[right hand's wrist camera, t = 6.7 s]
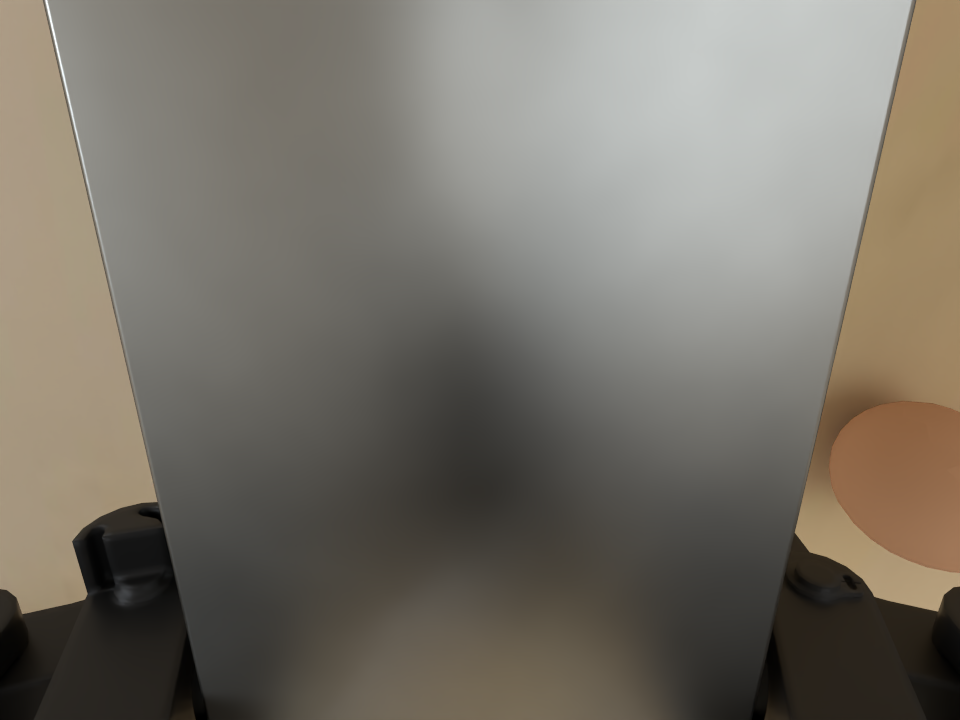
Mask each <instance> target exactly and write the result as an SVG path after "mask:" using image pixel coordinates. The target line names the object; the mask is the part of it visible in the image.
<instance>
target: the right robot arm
mask: <svg viewBox="0 0 960 720" xmlns="http://www.w3.org/2000/svg"><path fill="white" fill-rule="evenodd" d="M72 542H73V546H74V549H75V552H76V556H77V559H78V562H79V566H80V569H81V573H82V576H83V579H84V583H85V586H86V589H87V593H88V595H87V597H86V599H85V600H83V601H79V602H76V603H72V604H68V605H63V606H58V607H54V608H49V609H45V610H40V611H36V612H31V613H27V614H22V612H21V609H20V607H19V604H18V601H17V598H16V597H15V596H14V595H12V594H11V593H10V592H8V591H7V590H1V589H0V720H207V715H206V711H205V707H204V702H203V698H202V693H201V689H200V685H199V680H198V676H197V672H196V667H195V663H194V658H193V654H192V650H191V645H190V641H189V637H188V632H187V628H186V623H185V619H184V615H183V610H182V606H181V602H180V597H179V593H178V588H177V584H176V580H175V575H174V571H173V567H172V562H171V558H170V553H169V549H168V545H167V540H166V536H165V532H164V527H163V523H162V519H161V514H160V510H159V505H158V502H153V503H140V504H136V505H132V506H128V507H123V508H120V509H118V510H115V511H113V512H111V513H108V514H106V515H104V516H101V517H99V518H98V519H96V520H95V521H93V522H92V523H90V524H89V525H87V526H86V527H84V528H83V529H82V530H81V531H80V533H79V534H78V535H77V536H76V537H75V539H74V540H73V541H72ZM752 720H960V587H954V588H952V589H951V590H950V591H948V592H947V593H946V594H945V595H944V597H943V599H942V602H941V605H940V608H939V611H938V612H937V611H932V610H927V609H923V608H918V607H914V606H909V605H904V604H900V603H895V602H891V601H887V600H883V599H880V598H876V597H874V596H873V593H872V592H871V591H870V589H869V588H868V586H867V585H866V584H865V582H864V581H863V579H862V578H860V577H859V576H858V575H856V574H855V573H854V572H852V571H851V570H850V569H849V568H847V567H846V566H844V565H842V564H840V563H838V562H836V561H834V560H831V559H829V558H827V557H824V556H821V555H817V554H813V553H810V552H809V551H808V550H807V548H806V547H805V546H804V544H803V543H802V542H801V540H800V539H799V538H798V537H797V535H796V534H795V533H794V537H793V542H792V546H791V550H790V555H789V559H788V563H787V568H786V572H785V577H784V581H783V585H782V590H781V594H780V598H779V603H778V607H777V612H776V616H775V620H774V625H773V629H772V633H771V638H770V642H769V647H768V651H767V655H766V660H765V664H764V668H763V673H762V677H761V682H760V686H759V690H758V695H757V699H756V703H755V708H754V712H753V717H752Z"/></svg>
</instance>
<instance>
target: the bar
mask: <svg viewBox="0 0 960 720" xmlns="http://www.w3.org/2000/svg"><path fill="white" fill-rule="evenodd" d="M43 2H44V7H45V11H46V16H47V20H48V24H49V29H50V33H51V37H52V42H53V46H54V51H55V55H56V59H57V64H58V68H59V72H60V77H61V81H62V86H63V90H64V94H65V99H66V103H67V107H68V112H69V116H70V121H71V125H72V129H73V134H74V138H75V142H76V147H77V151H78V156H79V160H80V164H81V169H82V173H83V177H84V182H85V186H86V191H87V195H88V199H89V204H90V208H91V212H92V217H93V221H94V226H95V230H96V234H97V239H98V243H99V247H100V252H101V256H102V260H103V265H104V269H105V274H106V278H107V282H108V287H109V291H110V295H111V300H112V304H113V309H114V313H115V317H116V322H117V326H118V330H119V335H120V339H121V344H122V348H123V352H124V357H125V361H126V365H127V370H128V374H129V379H130V383H131V387H132V392H133V396H134V400H135V405H136V409H137V414H138V418H139V422H140V427H141V431H142V435H143V440H144V444H145V449H146V453H147V457H148V462H149V466H150V470H151V475H152V479H153V484H154V488H155V492H156V497H157V501H158V505H159V510H160V514H161V519H162V523H163V527H164V532H165V536H166V540H167V545H168V549H169V553H170V558H171V562H172V567H173V571H174V575H175V580H176V584H177V588H178V593H179V597H180V602H181V606H182V610H183V615H184V619H185V623H186V628H187V632H188V637H189V641H190V645H191V650H192V654H193V658H194V663H195V667H196V672H197V676H198V680H199V685H200V689H201V693H202V698H203V702H204V707H205V711H206V715H207V720H752V717H753V712H754V708H755V703H756V699H757V695H758V690H759V686H760V682H761V677H762V673H763V668H764V664H765V660H766V655H767V651H768V647H769V642H770V638H771V633H772V629H773V625H774V620H775V616H776V612H777V607H778V603H779V598H780V594H781V590H782V585H783V581H784V577H785V572H786V568H787V563H788V559H789V555H790V550H791V546H792V542H793V537H794V533H795V528H796V524H797V520H798V515H799V511H800V507H801V502H802V498H803V493H804V489H805V485H806V480H807V476H808V472H809V467H810V463H811V458H812V454H813V450H814V445H815V441H816V437H817V432H818V428H819V423H820V419H821V415H822V410H823V406H824V402H825V397H826V393H827V388H828V384H829V380H830V375H831V371H832V367H833V362H834V358H835V353H836V349H837V345H838V340H839V336H840V332H841V327H842V323H843V318H844V314H845V310H846V305H847V301H848V297H849V292H850V288H851V283H852V279H853V275H854V270H855V266H856V262H857V257H858V253H859V248H860V244H861V240H862V235H863V231H864V227H865V222H866V218H867V213H868V209H869V205H870V200H871V196H872V191H873V187H874V183H875V178H876V174H877V170H878V165H879V161H880V156H881V152H882V148H883V143H884V139H885V135H886V130H887V126H888V121H889V117H890V113H891V108H892V104H893V100H894V95H895V91H896V86H897V82H898V78H899V73H900V69H901V65H902V60H903V56H904V51H905V47H906V43H907V38H908V34H909V30H910V25H911V21H912V16H913V12H914V8H915V3H916V0H43Z"/></svg>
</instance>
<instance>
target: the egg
mask: <svg viewBox="0 0 960 720" xmlns="http://www.w3.org/2000/svg"><path fill="white" fill-rule="evenodd" d="M829 471H830V477H831V484H832V488H833V491H834V493H835V495H836V498H837V500H838V502H839V504H840V505H841V506H842V508H843V509H844V510H845V512H846V513H847V514H848V516H849V517H850V519H851V520H852V521H853V523H854V524H855V525H856V526H857V527H858V528H860V529H861V530H862V531H863V532H864V533H865V534H866V535H867V536H868V537H869V538H870V539H871V540H873V541H874V542H876V543H877V544H879V545H881V546H882V547H884V548H885V549H887V550H888V551H890V552H891V553H893V554H896V555H898V556H900V557H902V558H904V559H906V560H909V561H911V562H914V563H917V564H920V565H922V566H925V567H929V568H934V569H938V570H943V571H948V572H957V573H960V413H959V412H957V411H955V410H953V409H950V408H947V407H943V406H940V405H936V404H933V403H921V402H909V401H900V402H893V403H887V404H881V405H878V406H875V407H873V408H870V409H867V410H865V411H864V412H862V413H860V414H859V415H857V416H856V417H854V418H852V419H851V420H850V421H849V422H848V423H847V424H846V425H845V426H844V427H843V428H842V429H841V431H840V432H839V434H838V436H837V438H836V440H835V442H834V444H833V446H832V450H831V454H830V462H829Z"/></svg>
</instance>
